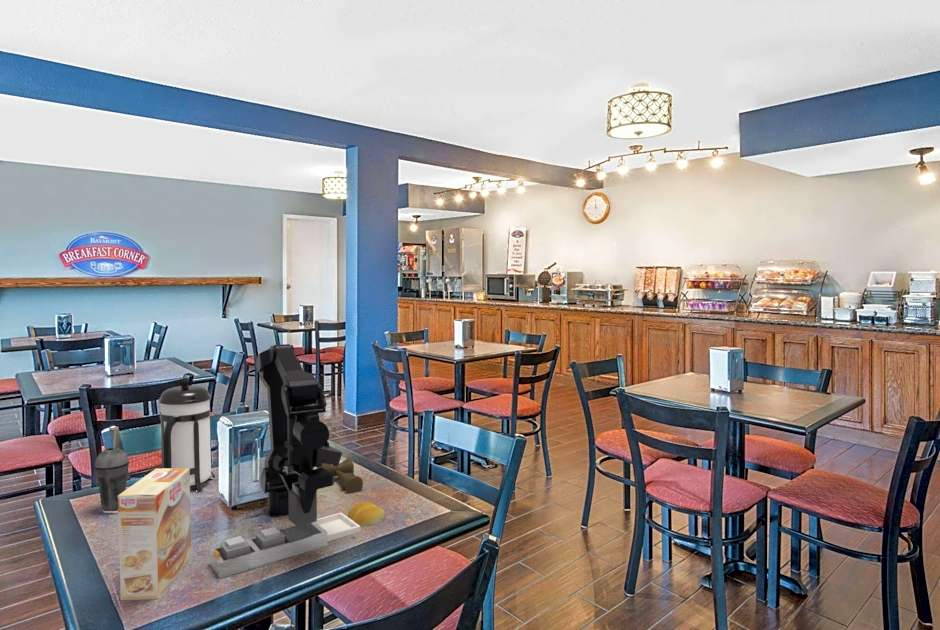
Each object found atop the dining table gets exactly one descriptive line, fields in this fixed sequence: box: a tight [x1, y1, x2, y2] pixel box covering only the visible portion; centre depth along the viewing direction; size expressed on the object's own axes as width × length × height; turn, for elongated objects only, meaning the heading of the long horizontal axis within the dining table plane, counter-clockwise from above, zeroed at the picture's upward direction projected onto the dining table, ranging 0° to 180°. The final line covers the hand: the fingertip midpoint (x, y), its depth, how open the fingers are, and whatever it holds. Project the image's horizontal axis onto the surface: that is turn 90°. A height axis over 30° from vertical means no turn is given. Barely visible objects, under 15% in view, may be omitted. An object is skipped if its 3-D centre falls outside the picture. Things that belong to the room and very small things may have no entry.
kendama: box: [316, 458, 364, 494], centre depth 162 cm, size 6×10×20 cm
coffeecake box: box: [117, 467, 192, 601], centre depth 109 cm, size 15×7×20 cm, turn 5°
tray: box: [316, 512, 362, 542], centre depth 131 cm, size 10×10×2 cm
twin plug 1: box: [219, 535, 250, 561], centre depth 115 cm, size 4×4×5 cm
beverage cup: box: [93, 428, 130, 511], centre depth 141 cm, size 7×7×20 cm
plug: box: [288, 482, 318, 527], centre depth 123 cm, size 4×4×8 cm
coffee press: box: [158, 377, 216, 492], centre depth 157 cm, size 17×16×30 cm
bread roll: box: [347, 501, 386, 527], centre depth 138 cm, size 8×9×4 cm
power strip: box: [208, 522, 329, 579], centre depth 119 cm, size 7×22×4 cm, turn 129°
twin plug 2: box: [255, 526, 285, 550], centre depth 119 cm, size 4×4×5 cm
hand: (302, 509), depth 123 cm, fingers closed on plug, 4 cm apart
